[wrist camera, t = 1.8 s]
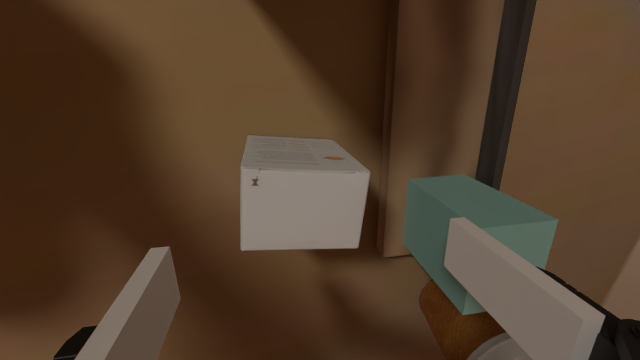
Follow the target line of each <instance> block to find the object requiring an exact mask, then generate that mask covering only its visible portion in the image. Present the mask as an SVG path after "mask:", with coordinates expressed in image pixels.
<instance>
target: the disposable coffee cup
mask: <svg viewBox="0 0 640 360" xmlns="http://www.w3.org/2000/svg"><path fill="white" fill-rule="evenodd" d="M419 304H420V307H421V309H422V311H423V313H424V315H425V317H426V319H427V321H428V323H429V325H430V327H431V329H432V331H433V334H434V336H435V338H436V340H437V342H438V344H439V346H440V348H441V350H442V352H443V354H444V356H445V358H446V360H533V359H532V358H531V357H530V356H529V355H528V354H527V353H526V352H525V351H524V350H523V349H522V348H521V347H520V346H519V345H518V343H517V342H516V341H515V340H514V339H513V338H512V337H511V336H510V335H509V334H508V333H507V332H506V331H505V330H504V329H503V328H502V327H501V326H500V324H499V323H498V322H497V321H496V320H495V319H494V318H493V317H492V316H491V315H490V314H489V313H488V312H487V311H486V312H480V313H474V314H468V315H462V314H461V313H460V311H459V310H458V309H457V308H456V307H455V305H454V304H453V303H452V302H451V301H450V299H449V298H448V297H447V296H446V295H445V293H444V292H443V291H442V290H441V289H440V287H439V286H438V285H437V284H436V283H435V281H434V280H432V281H430V282H429V283H428V284H427V285H426V286H425V287H424V289H423V290H422V292H421V295H420V299H419Z"/></svg>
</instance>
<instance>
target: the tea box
mask: <svg viewBox="0 0 640 360" xmlns="http://www.w3.org/2000/svg"><path fill="white" fill-rule="evenodd" d="M461 217H465V218H466V219H468V220H469V221H471V222H472V223H473V224H475V225H476V226H478V227H479V228H481V229H482V230H483V231H485V232H486V233H488V234H489V235H491V236H492V237H493V238H495V239H496V240H498V241H499V242H501V243H502V244H503V245H505V246H506V247H508V248H509V249H511V250H512V251H514V252H515V253H516V254H518V255H519V256H521V257H522V258H524V259H525V260H526V261H528V262H529V263H531V264H532V265H534V266H535V267H536V266H537V267H540V268H542V269H544V270H545V266H546V263H547V259H548V256H549V252H550V248H551V245H552V241H553V238H554V234H555V230H556V227H557V223H558V219H556V218H553V217H551V216H549V215H547V214H545V213H543V212H541V211H539V210H537V209H535V208H533V207H531V206H529V205H527V204H525V203H523V202H520V201H518V200H516V199H514V198H512V197H510V196H508V195H506V194H504V193H502V192H500V191H498V190H496V189H494V188H492V187H490V186H487V185H485V184H483V183H481V182H479V181H477V180H475V179H473V178H471V177H469V176H467V175H453V176H440V177H427V178H414V179H408V185H407V196H406V208H405V219H404V231H403V242H402V243H403V244H404V245H405V247H406V248H407V249H408V250H409V251H410V253H411V254H412V255H413V256H414V257H415V259H416V260H417V261H418V262H419V263H420V265H421V266H422V267H423V268H424V269H425V271H426V272H427V273H428V274H429V275H430V277H431V278H432V279H433V280H434V281H435V283H436V284H437V285H438V286H439V287H440V289H441V290H442V291H443V292H444V293H445V295H446V296H447V297H448V298H449V299H450V301H451V302H452V303H453V304H454V305H455V307H456V308H457V309H458V310H459V311H460V313H461V314H462V315H468V314H474V313H480V312H486V310H485V309H484V308H483V307H482V305H481V304H480V303H479V302H478V301H477V300H476V299H475V298H474V297H473V296H472V295H471V294H470V293H469V292H468V291H467V290H466V289H465V288H464V286H463V285H462V284H461V283H460V282H459V281H458V280H457V279H456V278H455V277H454V276H453V275H452V274H451V273H450V272H449V271H448V270H447V269H446V267H445V266H444V260H445V253H446V246H447V239H448V232H449V225H450V218H461Z"/></svg>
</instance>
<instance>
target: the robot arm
mask: <svg viewBox="0 0 640 360" xmlns="http://www.w3.org/2000/svg"><path fill="white" fill-rule="evenodd" d="M444 266H445V267H446V269H447V270H448V271H449V272H450V273H451V274H452V275H453V276H454V277H455V278H456V279H457V280H458V281H459V282H460V283H461V284H462V285H463V286H464V288H465V289H466V290H467V291H468V292H469V293H470V294H471V295H472V296H473V297H474V298H475V299H476V300H477V301H478V302H479V303H480V304H481V305H482V307H483V308H484V309H485V310H486V311H487V312H488V313H489V314H490V315H491V316H492V317H493V318H494V319H495V320H496V321H497V322H498V323H499V324H500V326H501V327H502V328H503V329H504V330H505V331H506V332H507V333H508V334H509V335H510V336H511V337H512V338H513V339H514V340H515V341H516V342H517V343H518V345H519V346H520V347H521V348H522V349H523V350H524V351H525V352H526V353H527V354H528V355H529V356H530V357H531V358H532V359H533V360H640V321H638V320H632V319H622V320H620V319H619V318H617V317H616V316H615V315H613V314H612V313H610V312H609V311H607V310H606V309H604V308H603V307H601V306H600V305H598V304H597V303H595V302H594V301H592V300H591V299H590V298H588V297H587V296H585V295H584V294H582V293H581V292H577V290H576V289H575V288H573V287H572V286H570V285H569V284H566V282H565V281H563V280H562V279H560V278H559V277H557V276H556V275H554V274H553V273H551V272H548V271H546V270H544V269H542V268H540V267H537V266H536V267H535V266H534V265H532V264H531V263H529V262H528V261H526V260H525V259H524V258H522V257H521V256H519V255H518V254H516V253H515V252H514V251H512V250H511V249H509V248H508V247H506V246H505V245H503V244H502V243H501V242H499V241H498V240H496V239H495V238H493V237H492V236H491V235H489V234H488V233H486V232H485V231H483V230H482V229H481V228H479V227H478V226H476V225H475V224H473V223H472V222H471V221H469V220H468V219H466V218H465V217H461V218H450V225H449V232H448V239H447V246H446V253H445V260H444ZM180 299H181V297H180V292H179V288H178V283H177V278H176V273H175V268H174V264H173V259H172V254H171V249H170V246H168V247H158V248H151V249H150V250H149V251H148V253H147V254H146V256H145V257H144V259H143V260H142V262H141V263H140V265H139V266H138V268H137V269H136V270H135V272H134V273H133V275H132V276H131V278H130V279H129V281H128V282H127V284H126V285H125V286H124V288H123V289H122V291H121V292H120V294H119V295H118V297H117V298H116V300H115V301H114V303H113V304H112V305H111V307H110V308H109V310H108V311H107V313H106V314H105V316H104V317H103V319H102V320H101V322H100V323H99V324H98V326H90V327H83V328H82V329H81V330H79V331H78V332H77V333H76V334H74V335H73V336H72V337H71V338H70V339H68V340H67V341H66V342H65V343H64V345H63V346H62V347H61V349H60V350H59V351H58V352H57V354H56V355H55V356H54V360H157V358H158V356H159V353H160V351H161V348H162V345H163V343H164V340H165V338H166V335H167V333H168V330H169V327H170V325H171V322H172V320H173V317H174V315H175V312H176V310H177V307H178V304H179V302H180Z"/></svg>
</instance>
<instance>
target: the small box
mask: <svg viewBox="0 0 640 360" xmlns="http://www.w3.org/2000/svg"><path fill="white" fill-rule="evenodd" d="M370 175H371V173H370V171H369V170H368V169H367V168H365V167H364V166H363V165H362V164H361V163H360V162H358V161H357V160H356V159H355V158H354V157H352V156H351V155H350V154H349V153H348V152H347V151H345V150H344V149H343V148H342V147H341V146H339V145H338V144H337V143H336V142H335V141H334V140H325V139H307V138H289V137H270V136H254V135H248V136H247V141H246V146H245V150H244V155H243V158H242V163H241V188H240V248H241V251H263V250H307V249H357V248H358V247H359V241H360V235H361V229H362V223H363V217H364V211H365V205H366V199H367V193H368V187H369V180H370Z"/></svg>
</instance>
